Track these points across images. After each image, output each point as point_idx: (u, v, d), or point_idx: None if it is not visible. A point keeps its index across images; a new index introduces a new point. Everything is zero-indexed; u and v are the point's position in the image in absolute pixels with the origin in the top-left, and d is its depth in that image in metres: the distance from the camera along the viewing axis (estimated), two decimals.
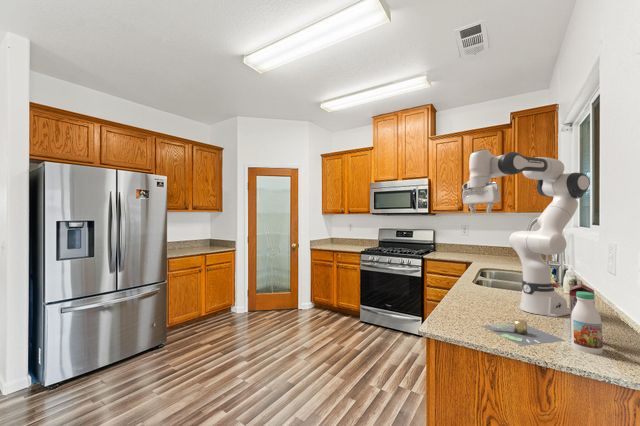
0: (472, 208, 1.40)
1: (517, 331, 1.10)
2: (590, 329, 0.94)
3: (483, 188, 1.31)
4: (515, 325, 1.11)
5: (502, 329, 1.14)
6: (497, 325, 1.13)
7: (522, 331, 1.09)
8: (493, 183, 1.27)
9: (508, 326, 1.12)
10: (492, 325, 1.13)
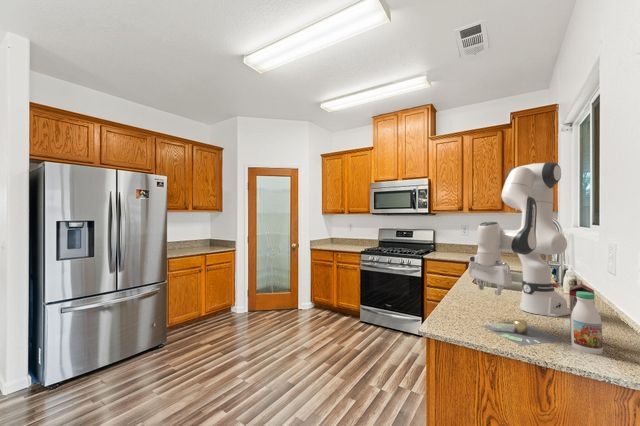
0: (479, 283, 1.28)
1: (517, 331, 1.10)
2: (590, 329, 0.94)
3: (493, 267, 1.19)
4: (515, 325, 1.11)
5: (502, 329, 1.14)
6: (497, 325, 1.13)
7: (522, 331, 1.09)
8: (504, 264, 1.15)
9: (508, 326, 1.12)
10: (492, 325, 1.13)
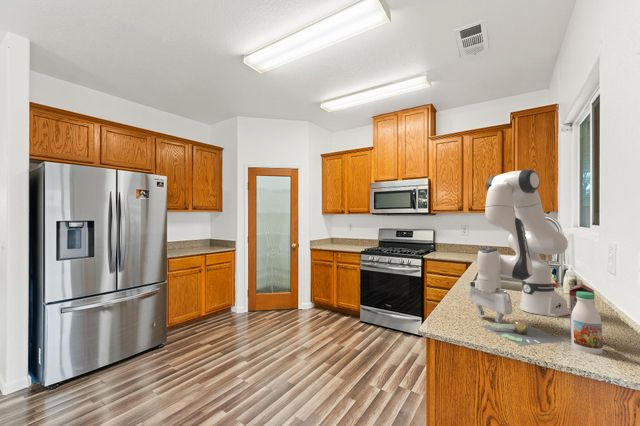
0: (480, 309, 1.28)
1: (517, 331, 1.10)
2: (590, 329, 0.94)
3: (493, 295, 1.18)
4: (515, 325, 1.11)
5: (502, 329, 1.14)
6: (497, 325, 1.13)
7: (522, 331, 1.09)
8: (504, 292, 1.15)
9: (508, 326, 1.12)
10: (492, 325, 1.13)
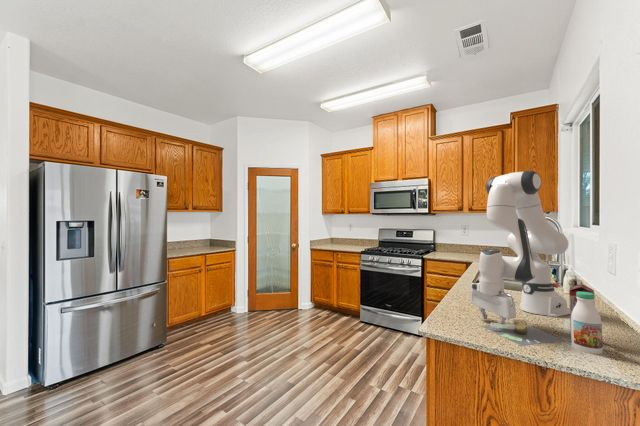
0: (483, 312, 1.24)
1: (517, 331, 1.10)
2: (590, 329, 0.94)
3: (496, 298, 1.14)
4: (515, 325, 1.11)
5: (502, 329, 1.14)
6: (497, 325, 1.13)
7: (522, 331, 1.09)
8: (507, 296, 1.11)
9: (508, 326, 1.12)
10: (492, 325, 1.13)
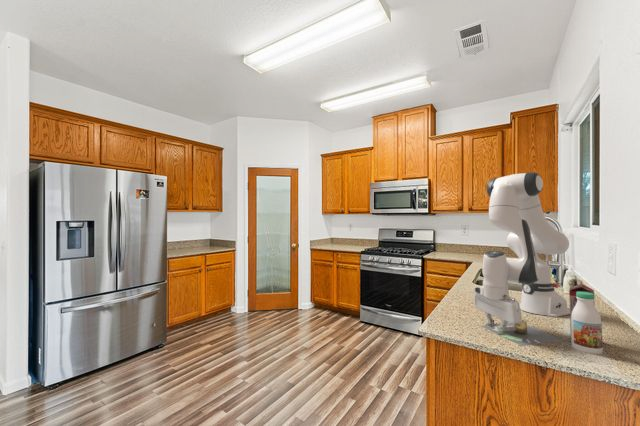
0: (489, 317, 1.18)
1: (520, 332, 1.09)
2: (590, 329, 0.94)
3: (500, 302, 1.10)
4: (517, 326, 1.10)
5: None
6: (502, 328, 1.10)
7: (524, 331, 1.09)
8: (513, 300, 1.06)
9: (511, 328, 1.10)
10: (498, 329, 1.09)
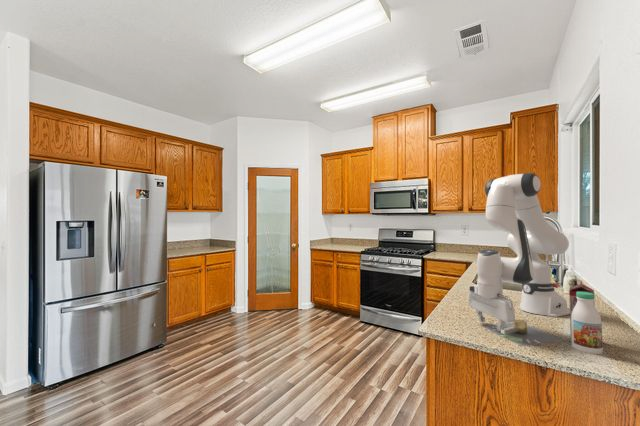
0: (480, 315, 1.20)
1: (522, 332, 1.09)
2: (590, 329, 0.94)
3: (494, 300, 1.11)
4: (519, 326, 1.09)
5: None
6: (508, 330, 1.07)
7: (526, 331, 1.09)
8: (506, 298, 1.07)
9: (514, 329, 1.09)
10: (505, 332, 1.07)
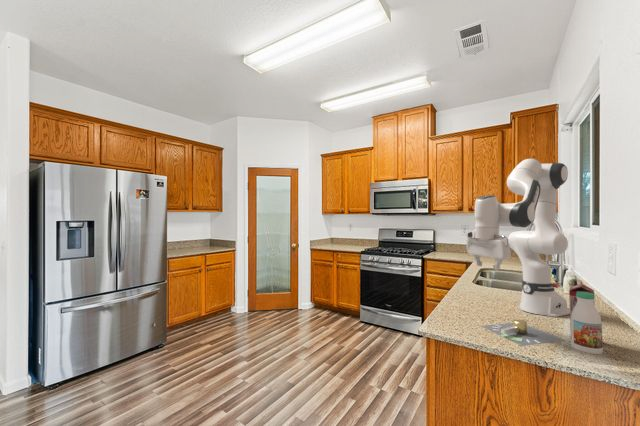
0: (478, 260, 1.24)
1: (522, 332, 1.09)
2: (590, 329, 0.94)
3: (491, 241, 1.15)
4: (519, 326, 1.09)
5: None
6: (508, 330, 1.07)
7: (526, 331, 1.09)
8: (502, 237, 1.11)
9: (514, 329, 1.09)
10: (505, 332, 1.07)
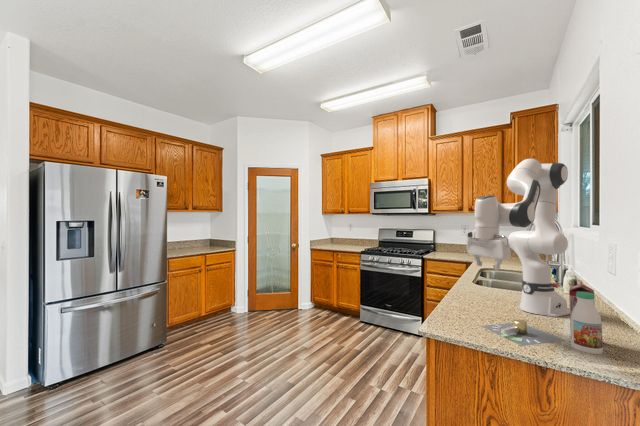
0: (478, 260, 1.24)
1: (522, 332, 1.09)
2: (590, 329, 0.94)
3: (491, 241, 1.15)
4: (519, 326, 1.09)
5: None
6: (508, 330, 1.07)
7: (526, 331, 1.09)
8: (502, 237, 1.11)
9: (514, 329, 1.09)
10: (505, 332, 1.07)
